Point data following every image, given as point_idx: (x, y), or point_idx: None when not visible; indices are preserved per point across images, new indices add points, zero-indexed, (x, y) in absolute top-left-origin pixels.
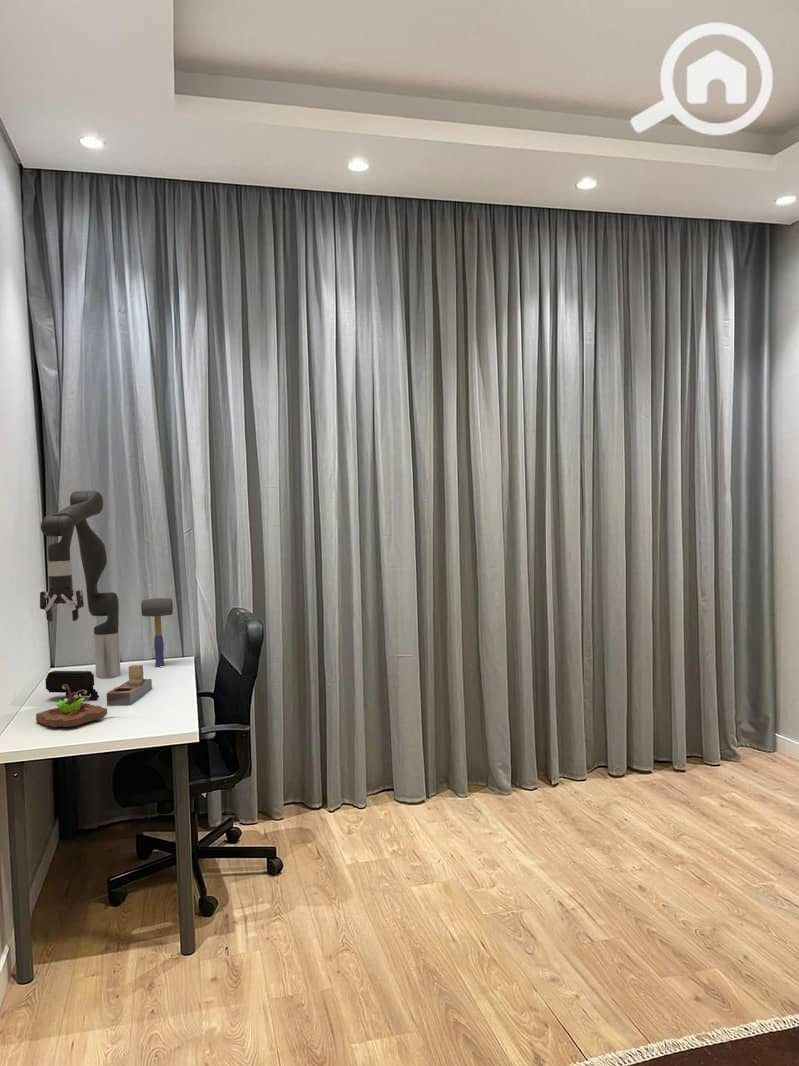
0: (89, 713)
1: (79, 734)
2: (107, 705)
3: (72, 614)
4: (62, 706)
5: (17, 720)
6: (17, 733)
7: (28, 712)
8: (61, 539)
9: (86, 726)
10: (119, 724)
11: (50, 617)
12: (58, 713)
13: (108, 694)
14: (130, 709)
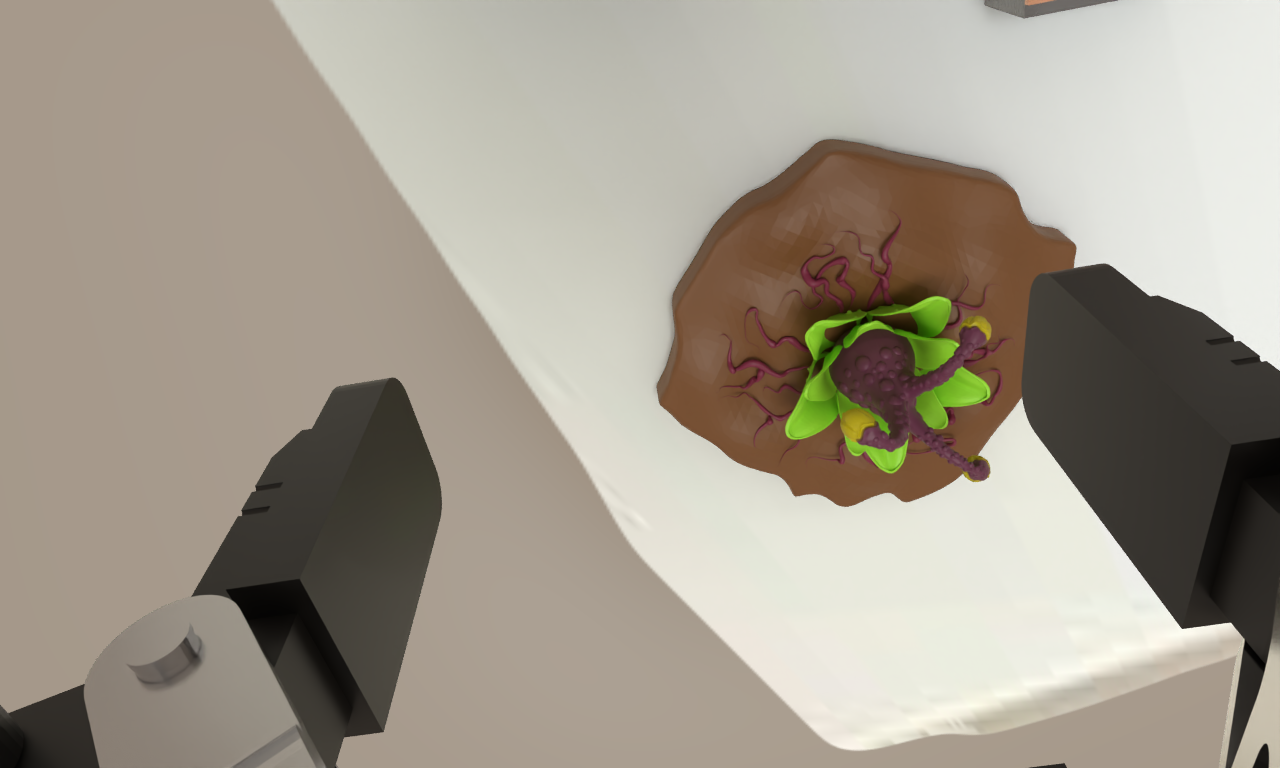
0: (1017, 402)
1: (1038, 583)
2: (988, 5)
3: (1111, 529)
4: (839, 410)
5: (554, 412)
6: (725, 594)
7: (480, 241)
8: None
9: (1024, 477)
10: None
11: (414, 543)
12: (841, 452)
13: (1039, 13)
14: (1202, 106)
